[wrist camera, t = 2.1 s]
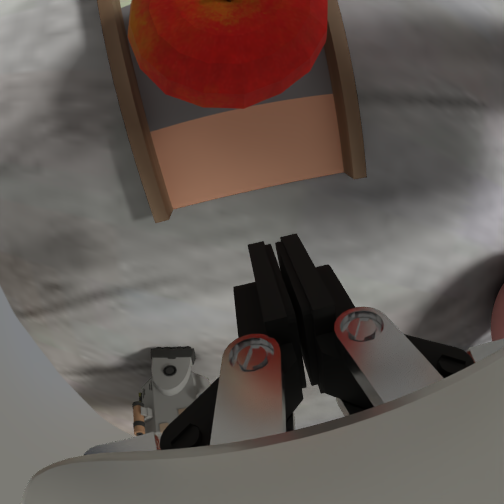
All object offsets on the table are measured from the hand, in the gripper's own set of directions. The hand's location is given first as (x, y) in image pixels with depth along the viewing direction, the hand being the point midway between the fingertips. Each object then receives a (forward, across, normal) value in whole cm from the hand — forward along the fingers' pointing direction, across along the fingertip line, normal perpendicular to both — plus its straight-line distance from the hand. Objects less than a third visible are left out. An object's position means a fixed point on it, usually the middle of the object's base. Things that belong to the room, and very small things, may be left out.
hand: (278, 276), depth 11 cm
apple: (+13, -1, -10) cm, 17 cm away
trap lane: (+13, -1, -14) cm, 19 cm away
